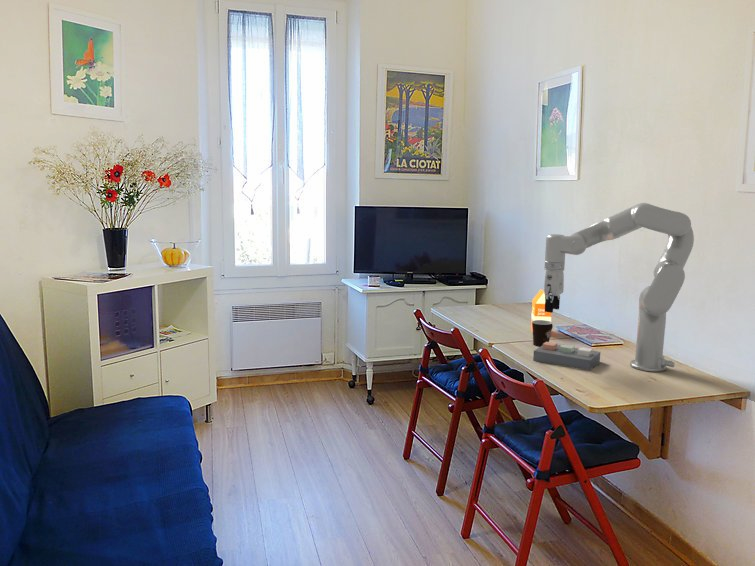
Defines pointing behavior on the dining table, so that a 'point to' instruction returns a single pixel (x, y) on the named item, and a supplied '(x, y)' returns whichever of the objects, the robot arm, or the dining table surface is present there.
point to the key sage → (567, 349)
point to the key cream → (585, 352)
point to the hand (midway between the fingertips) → (551, 310)
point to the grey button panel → (567, 358)
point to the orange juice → (539, 308)
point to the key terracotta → (549, 346)
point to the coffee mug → (541, 331)
